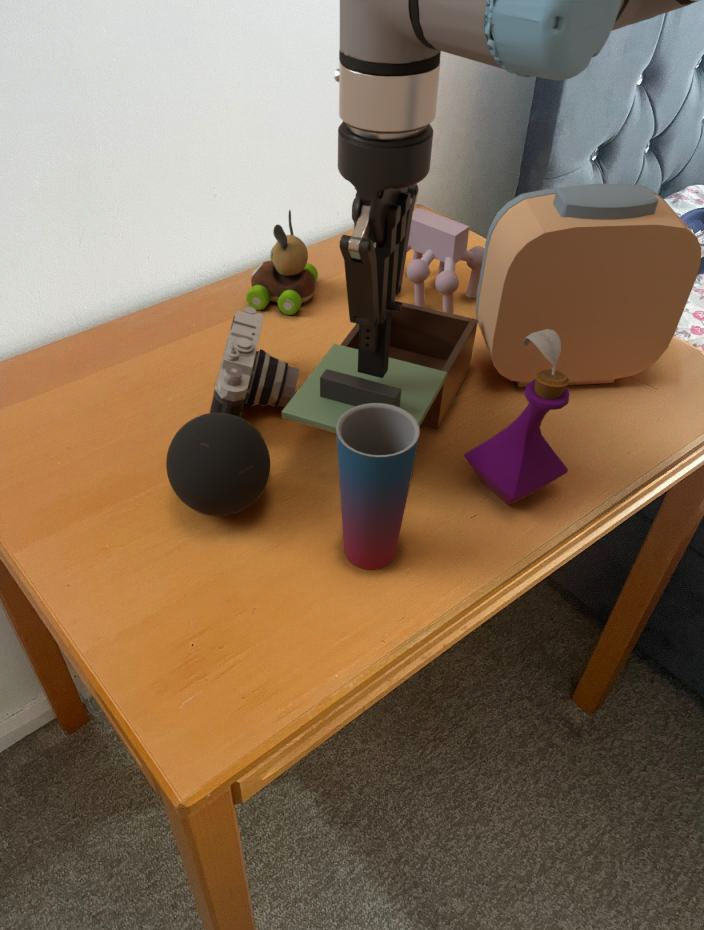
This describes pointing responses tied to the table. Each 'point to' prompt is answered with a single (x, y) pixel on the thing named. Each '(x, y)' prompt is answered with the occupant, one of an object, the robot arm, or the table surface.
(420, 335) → the walnut box
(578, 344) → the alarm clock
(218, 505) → the speaker
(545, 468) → the perfume bottle
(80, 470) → the table surface
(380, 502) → the cup
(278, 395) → the camera
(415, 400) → the sliding lid
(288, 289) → the toy car
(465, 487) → the table surface
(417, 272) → the pink legged piece
